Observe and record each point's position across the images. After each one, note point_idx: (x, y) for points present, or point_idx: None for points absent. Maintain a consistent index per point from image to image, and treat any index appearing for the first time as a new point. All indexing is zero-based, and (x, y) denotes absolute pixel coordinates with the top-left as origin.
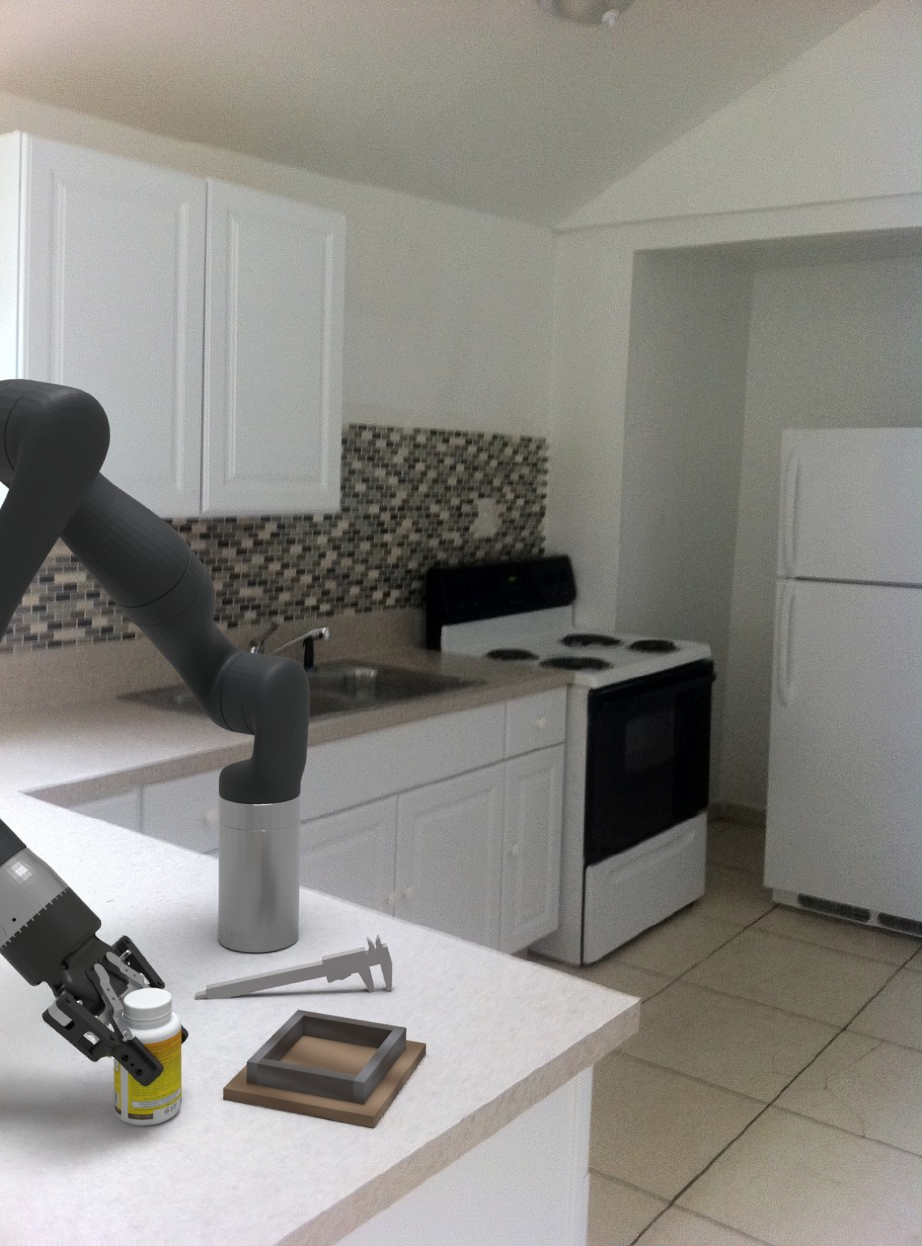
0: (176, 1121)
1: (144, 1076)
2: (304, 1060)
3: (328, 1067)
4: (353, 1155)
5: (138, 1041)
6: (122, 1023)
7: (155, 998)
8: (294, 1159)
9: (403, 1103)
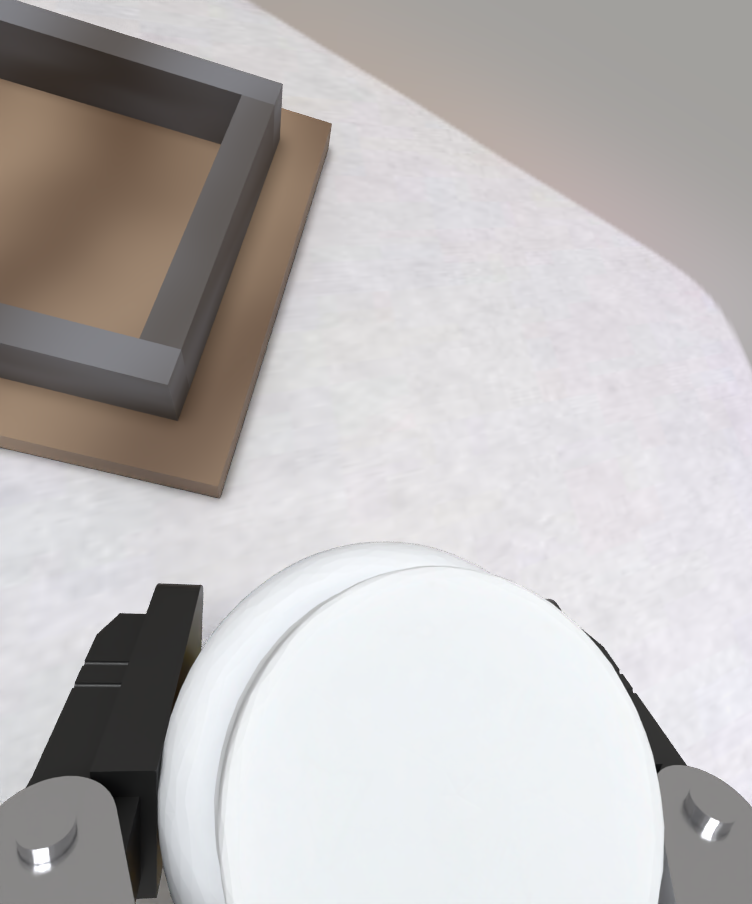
0: None
1: None
2: (14, 273)
3: (66, 211)
4: (439, 184)
5: None
6: (715, 887)
7: (459, 705)
8: (480, 286)
9: None
